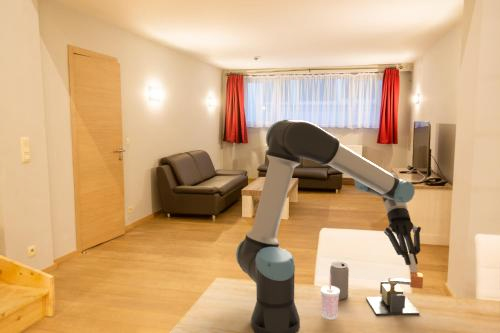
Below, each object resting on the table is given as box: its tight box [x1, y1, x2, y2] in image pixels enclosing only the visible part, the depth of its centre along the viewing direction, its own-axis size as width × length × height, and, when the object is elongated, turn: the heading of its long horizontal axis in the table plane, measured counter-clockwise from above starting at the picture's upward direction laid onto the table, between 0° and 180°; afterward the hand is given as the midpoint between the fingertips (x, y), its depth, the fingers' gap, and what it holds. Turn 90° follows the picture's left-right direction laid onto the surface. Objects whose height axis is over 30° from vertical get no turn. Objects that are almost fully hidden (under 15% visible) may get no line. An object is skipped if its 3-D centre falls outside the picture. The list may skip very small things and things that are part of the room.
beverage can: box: [329, 261, 350, 301], centre depth 137 cm, size 6×6×12 cm
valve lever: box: [387, 271, 424, 290], centre depth 127 cm, size 10×3×4 cm, turn 71°
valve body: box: [365, 280, 421, 317], centre depth 129 cm, size 14×11×8 cm
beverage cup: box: [320, 274, 340, 321], centre depth 124 cm, size 6×6×14 cm
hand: (414, 273), depth 129 cm, fingers closed
